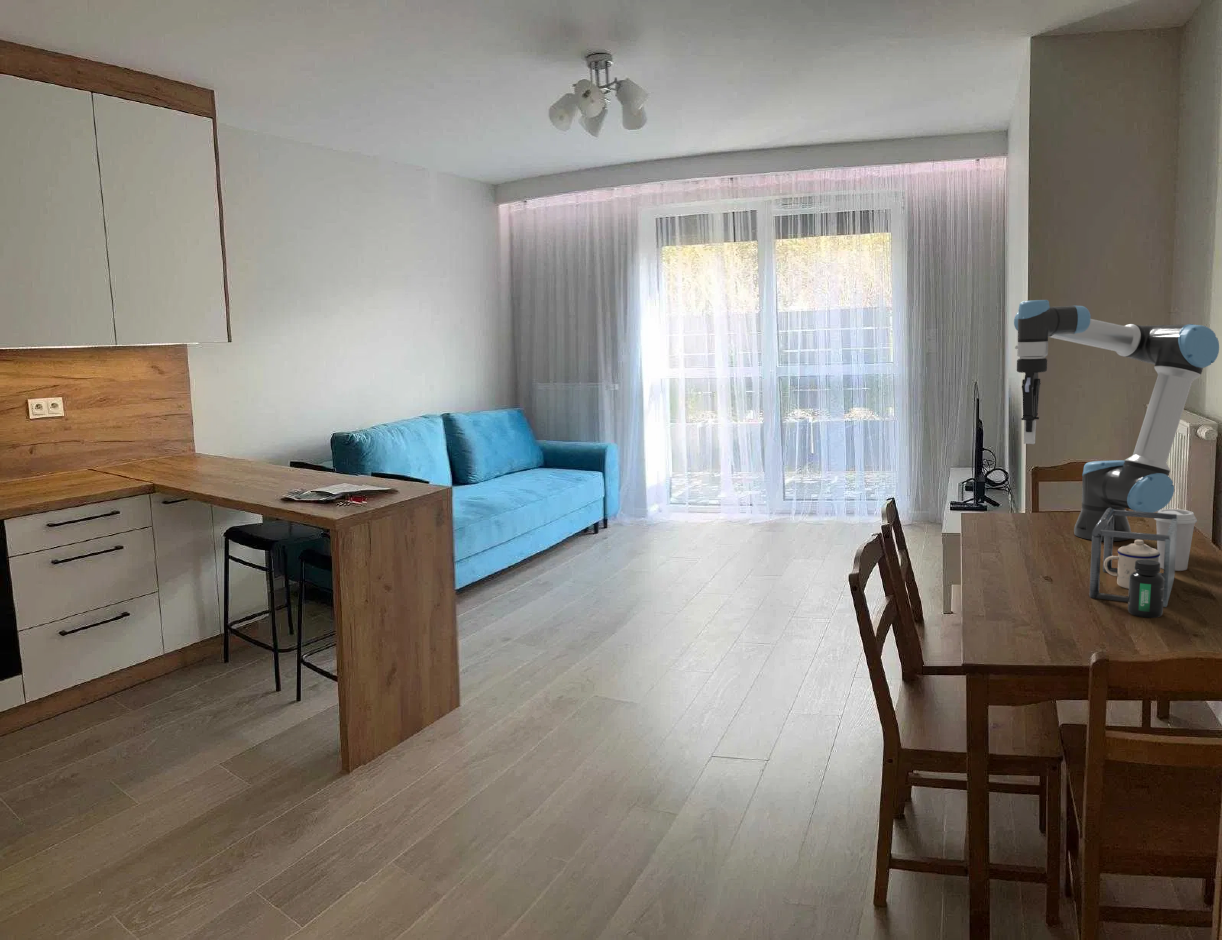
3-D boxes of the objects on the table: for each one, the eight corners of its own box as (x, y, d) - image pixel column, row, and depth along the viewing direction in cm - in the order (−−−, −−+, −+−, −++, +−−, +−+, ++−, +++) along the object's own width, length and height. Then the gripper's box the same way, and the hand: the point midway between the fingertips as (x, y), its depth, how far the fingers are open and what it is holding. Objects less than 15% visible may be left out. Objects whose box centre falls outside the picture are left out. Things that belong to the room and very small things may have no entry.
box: (1103, 570, 239) (1106, 507, 237) (1174, 577, 230) (1178, 512, 228) (1088, 597, 218) (1091, 528, 215) (1166, 607, 208) (1170, 535, 206)
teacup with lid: (1154, 581, 228) (1156, 536, 226) (1161, 592, 219) (1164, 545, 217) (1100, 578, 232) (1102, 534, 230) (1105, 589, 224) (1107, 543, 222)
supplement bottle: (1148, 620, 200) (1151, 567, 198) (1120, 612, 207) (1123, 561, 205) (1169, 615, 203) (1172, 563, 201) (1141, 607, 209) (1143, 556, 207)
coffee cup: (1194, 573, 233) (1197, 517, 230) (1151, 569, 238) (1154, 514, 235) (1193, 564, 241) (1197, 509, 238) (1152, 561, 246) (1154, 507, 243)
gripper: (1022, 356, 254) (1019, 439, 257) (1012, 359, 243) (1009, 446, 247) (1051, 356, 249) (1048, 440, 253) (1042, 358, 239) (1039, 447, 243)
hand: (1029, 443), depth 250 cm, fingers closed
